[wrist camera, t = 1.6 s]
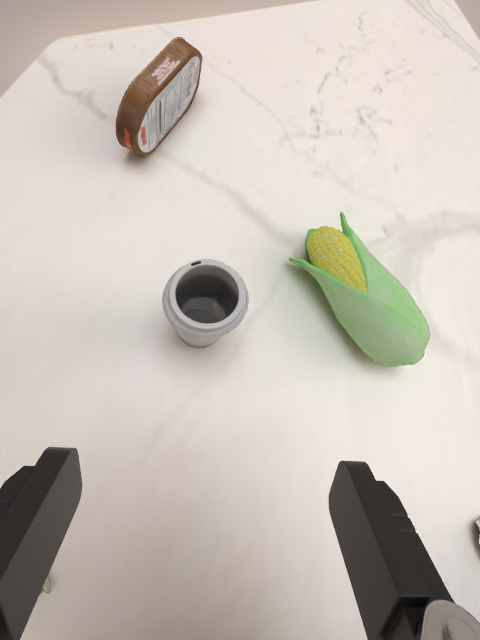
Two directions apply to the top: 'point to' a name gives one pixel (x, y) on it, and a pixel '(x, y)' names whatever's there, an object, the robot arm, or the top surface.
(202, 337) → the cup
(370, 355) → the corn
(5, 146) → the top surface
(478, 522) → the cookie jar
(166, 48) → the tin
